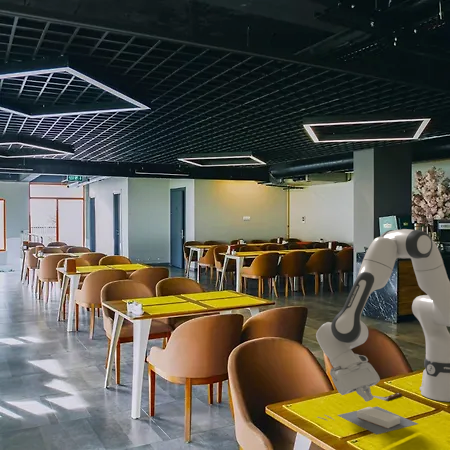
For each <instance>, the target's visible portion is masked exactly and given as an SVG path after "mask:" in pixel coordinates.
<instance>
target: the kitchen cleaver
mask: <svg viewBox="0 0 450 450" xmlns="http://www.w3.org/2000/svg"><path fill="white" fill-rule="evenodd" d="M372 396H373V397H374V398H376V399H379V400H382V401H386V402H389V401H391V400H394V399H398V398H400V397H401V398H402V396H403V394H402V393H401V392H395V393H394V394H393V393H392V394H390V395H388V396H378V395H372Z"/></svg>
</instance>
